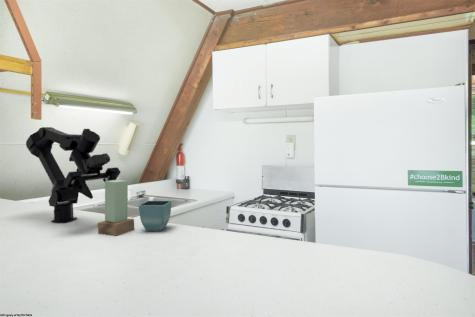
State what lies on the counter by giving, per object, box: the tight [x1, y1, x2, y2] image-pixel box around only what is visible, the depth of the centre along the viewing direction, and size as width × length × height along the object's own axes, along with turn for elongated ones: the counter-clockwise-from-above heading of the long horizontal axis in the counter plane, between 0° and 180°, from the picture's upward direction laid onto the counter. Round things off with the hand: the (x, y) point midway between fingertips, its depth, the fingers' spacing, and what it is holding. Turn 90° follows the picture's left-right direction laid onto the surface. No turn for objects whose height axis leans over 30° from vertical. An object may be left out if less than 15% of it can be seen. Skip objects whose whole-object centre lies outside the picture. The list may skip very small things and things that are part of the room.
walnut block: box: [97, 217, 135, 237], centre depth 116 cm, size 8×8×4 cm
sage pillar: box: [104, 179, 129, 223], centre depth 115 cm, size 5×5×13 cm
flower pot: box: [137, 200, 173, 232], centre depth 117 cm, size 9×9×9 cm
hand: (104, 195), depth 118 cm, fingers open, 9 cm apart
